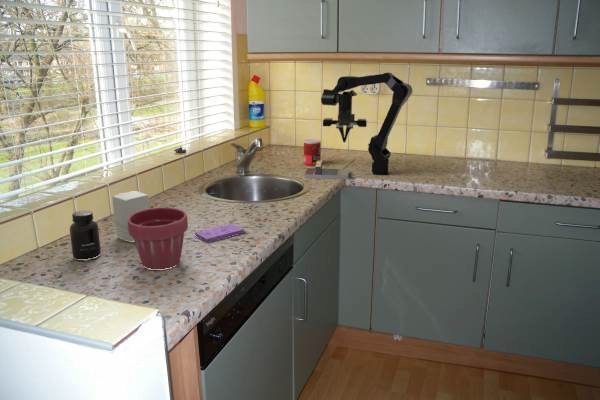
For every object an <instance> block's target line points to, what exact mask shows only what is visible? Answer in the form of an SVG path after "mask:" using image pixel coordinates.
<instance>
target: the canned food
mask: <svg viewBox="0 0 600 400" xmlns="http://www.w3.org/2000/svg"><path fill="white" fill-rule="evenodd" d="M321 146H322V145H321V140H319V139H313V138H312V139H311V138H310V139H304V140H303V164H304V165H305V166H309V167H315V165H316V162H317V160H322V159H321V151H322V149H321V148H322V147H321Z"/></svg>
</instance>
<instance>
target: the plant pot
mask: <svg viewBox="0 0 600 400" xmlns="http://www.w3.org/2000/svg"><path fill="white" fill-rule="evenodd" d="M188 224H189V223H188V215H187V212H186V211H184V210H182V209H179V208H175V207H165V206H164V207H152V208H149V209H145V210H142V211H138V212H136V213H134V214H132V215H131V216H129V218H128V230H129V235H130V236H131V237H133V238H134V241H135V242H134V244H135V247H136V249H137V253H138V256H139V258H140V261H141V263H142V264H141V265H142V267H143V266H145V267H147V268H151V269H165V268H170V267H173V266H175V265H177V264H178V263H179V262H181V256H182V251H183V245H184V238H185V233H186V232H187V230H188V228H189V226H188ZM179 264H180V263H179ZM179 264H178V265H179ZM178 265H177V266H178Z"/></svg>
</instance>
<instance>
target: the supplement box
mask: <svg viewBox="0 0 600 400" xmlns="http://www.w3.org/2000/svg"><path fill="white" fill-rule="evenodd" d="M111 197H112V206H113V214H114V222H115V223H114V225H115V230H116V231H115V232H116V237H117V236H119V237H121V238H123V239H125V240H128V241H133V240H134V238H133V237H131V236H130V235H129V230H128V218H129V216H131V215H132V214H134V213H136V212H138V211H142V210H145V209H150V200H149V195H148V194H146V193H143V192H139V191H136V190H132V191H127V192H123V193H119V194H116V195H112V196H111Z"/></svg>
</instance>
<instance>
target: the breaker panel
mask: <svg viewBox="0 0 600 400" xmlns="http://www.w3.org/2000/svg"><path fill="white" fill-rule="evenodd" d="M317 162H322V164H316V165H315V166H314V167H315V168H313V167H311V168H310V167H307V168H306V170H305V172H304V178H305V179H333V180H335V179H336V180H337V179H338V180H348V179H349V174H350V169H349V168H323V159H321V160H317Z"/></svg>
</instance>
